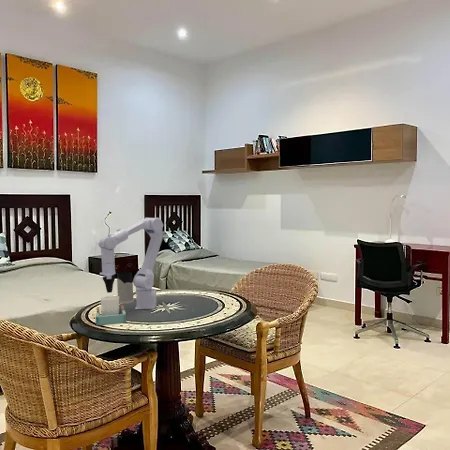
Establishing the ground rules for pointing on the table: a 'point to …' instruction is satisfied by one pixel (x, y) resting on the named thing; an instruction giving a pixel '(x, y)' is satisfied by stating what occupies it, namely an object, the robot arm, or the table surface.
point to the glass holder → (125, 287)
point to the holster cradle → (121, 308)
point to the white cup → (110, 305)
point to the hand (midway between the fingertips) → (109, 292)
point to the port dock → (111, 319)
